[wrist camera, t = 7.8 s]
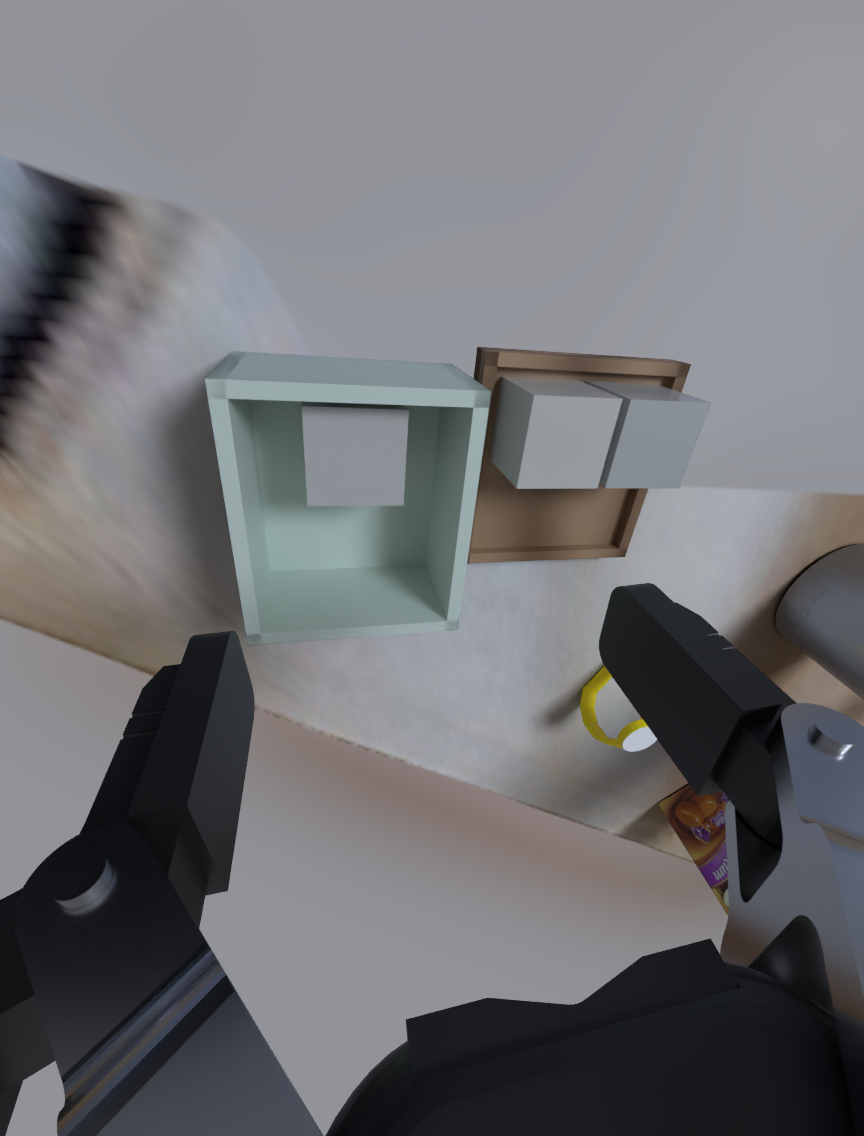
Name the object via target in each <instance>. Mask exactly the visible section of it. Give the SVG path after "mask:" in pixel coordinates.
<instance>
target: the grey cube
mask: <svg viewBox="0 0 864 1136" xmlns="http://www.w3.org/2000/svg"><path fill="white" fill-rule="evenodd" d="M408 419H409V409H408V408H407V406H406V405H388V404H360V403H333V402H305V401H302V423H303V440H304V457H305V474H306V491H307V506H404V488H405V471H406V453H407V436H408Z"/></svg>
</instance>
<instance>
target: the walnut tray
mask: <svg viewBox="0 0 864 1136" xmlns="http://www.w3.org/2000/svg"><path fill="white" fill-rule="evenodd" d="M690 365H691V364H687V363H683V362H679V361H675V360H667V359H652V358H636V357H622V356H607V355H606V356H605V355H592V354H577V353H561V352H546V351H531V350H515V349H501V348H486V347H477V355H476V363H475V372H474V380H476V381H477V382H479V383H480V384H482V385H483V386H484V387H486V388H487V389H489V390H490V391H491V398H490V405H489V412H488V419H487V426H486V433H485V440H484V447H483V454H482V461H481V468H480V475H479V483H478V490H477V497H476V504H475V511H474V518H473V525H472V532H471V539H470V546H469V553H468V560H467V563H480V562H505V561H531V560H557V559H582V558H608V557H625V555H626V552H627V549H628V546H629V543H630V540H631V537H632V534H633V531H634V528H635V525H636V523H637V520H638V517H639V514H640V511H641V508H642V505H643V502H644V499H645V496H646V494H647V491H648V488H604V487H602V486H601V485H600V484H598V488H593V489H516V487H515V486H514V485H513V484H512V483H511V482H510V481H509V480H508V479H507V478H506V477H505V475H504V474H503V473H502V472H501V471H500V470H499V469H498V468H497V467H496V466H495V465H494V463H493V462H492V461H491V460H490V459H489V456H490V450H491V443H492V436H493V430H494V423H495V416H496V410H497V403H498V396H499V390H500V383H501V376H505V377H524V378H543V379H562V380H579V381H581V382H584V383H585V382H586V381H600V382H619V383H639V384H657V385H660V386H663V387H666V388H669V389H672V390H675V391H678V392H682V389H683V386H684V383H685V380H686V377H687V374H688V371H689V369H690Z"/></svg>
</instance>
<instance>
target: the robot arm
mask: <svg viewBox="0 0 864 1136" xmlns="http://www.w3.org/2000/svg"><path fill="white" fill-rule="evenodd" d="M776 627H777V630H778V632H779V633H780V634H781V635H782V636H783V637H785V638H786V639H787V640H788V641H790V642H791V643H792V644H794V645H795V646H796V647H797V648H799V649H800V650H801V651H802V652H804V653H805V654H806V655H808V656H809V657H810V658H811V659H813V660H814V661H815V662H817V663H818V664H819V665H820V666H822V667H823V668H824V669H825V670H826V671H828V672H829V673H830V674H831V675H833V676H834V677H835V678H837V679H838V680H839V681H840V682H842V683H843V684H844V685H845V686H847V687H848V688H849V689H851V690H852V691H853V692H854V693H856V694H857V695H858V696H859V697H861V698H862V699H863V700H864V544H856V545H852V546H847V547H845V548H842V549H840V550H837V551H835V552H833V553H831V554H829V555H827V556H826V557H824V558H822V559H821V560H819V561H818V562H817V563H815V564H814V565H812V566H811V567H810V568H809V569H807V570H806V571H805V572H804V573H803V574H802V575H801V576H800V577H799V578H798V579H797V580H796V581H795V582H794V583H793V584H792V586H791V587H790V588H789V589H788V591H787V592H786V594H785V595H784V597H783V598H782V601H781V603H780V605H779V607H778V610H777V614H776ZM599 651H600V656H601V659H602V661H603V664H604V666H605V667H606V669H607V670H608V671H609V673H610V674H611V676H612V677H613V678H614V680H615V681H616V683H617V684H618V685H619V687H620V688H621V690H622V691H623V692H624V694H625V695H626V696H627V698H628V699H629V701H630V702H631V703H632V705H633V706H634V708H635V709H636V710H637V712H638V713H639V715H640V716H641V717H642V719H643V720H644V722H645V723H646V724H647V726H648V727H649V728H650V730H651V731H652V733H653V734H654V735H655V737H656V738H657V740H658V741H659V742H660V744H661V745H662V747H663V748H664V749H665V751H666V752H667V754H668V755H669V756H670V758H671V759H672V760H673V762H674V763H675V765H676V766H677V767H678V769H679V770H680V772H681V773H682V774H683V776H684V777H685V779H686V780H687V781H688V783H689V784H690V786H691V787H692V788H693V790H694V791H695V793H696V794H697V795H698V796H701V795H706V794H711V793H716V792H720V791H723V792H724V793H725V795H726V796H727V797H728V799H729V802H728V804H727V806H726V809H725V828H726V850H727V872H728V894H729V914H728V921H727V925H726V929H725V932H724V935H723V939H722V944H721V950H720V954H719V952H718V951H717V949H716V947H715V945H714V944H713V942H712V940H711V939H707V940H703V941H699V942H696V943H692V944H688V945H684V946H681V947H677V948H673V949H670V950H665V951H662V952H658V953H654V954H651V955H647V956H643V957H641V958H640V959H638V960H637V961H636V962H635V963H633V964H632V965H631V966H629V967H628V968H626V969H625V970H624V971H623V972H621V973H620V974H619V975H617V976H616V977H615V978H613V979H612V980H611V981H609V982H608V983H607V984H605V985H604V986H603V987H601V988H600V989H599V990H597V991H596V992H595V993H593V994H592V995H591V996H589V997H588V998H587V999H585V1000H584V1001H582V1002H580V1003H578V1004H574V1005H565V1004H553V1003H542V1002H529V1001H518V1000H506V999H495V998H485V999H482V1000H478V1001H474V1002H470V1003H467V1004H463V1005H459V1006H455V1007H451V1008H448V1009H444V1010H440V1011H436V1012H433V1013H429V1014H425V1015H421V1016H418V1017H414V1018H410V1019H407V1020H406V1027H407V1040H408V1041H407V1042H405V1043H404V1044H402V1045H401V1046H399V1047H398V1048H397V1049H396V1050H394V1051H392V1052H391V1053H390V1054H388V1055H387V1056H386V1057H385V1058H384V1059H383V1060H382V1061H381V1062H380V1063H379V1064H378V1065H377V1066H375V1067H374V1068H373V1069H372V1070H371V1071H370V1072H369V1074H368V1075H367V1076H366V1077H365V1078H364V1079H363V1081H362V1082H361V1083H360V1084H359V1085H358V1086H357V1088H356V1089H355V1090H354V1091H353V1093H352V1094H351V1096H350V1097H349V1098H348V1100H347V1101H346V1103H345V1104H344V1106H343V1107H342V1109H341V1110H340V1112H339V1113H338V1115H337V1116H336V1118H335V1120H334V1121H333V1123H332V1125H331V1127H330V1129H329V1131H328V1133H327V1134H326V1136H864V727H863V726H862V725H860V724H859V723H858V722H856V721H854V720H853V719H851V718H850V717H848V716H846V715H844V714H842V713H840V712H838V711H835V710H833V709H830V708H827V707H824V706H820V705H816V704H810V703H796V702H795V701H793V700H792V699H791V698H790V697H789V696H788V695H787V694H786V693H785V692H784V691H782V690H781V689H780V688H779V687H778V686H777V685H776V684H775V683H774V682H773V681H771V680H770V679H769V678H768V677H767V676H766V675H765V674H764V673H763V672H762V671H760V670H759V669H758V668H757V667H756V666H755V665H754V664H753V663H752V662H751V661H749V660H748V659H747V658H746V657H745V656H744V655H743V654H742V653H741V652H740V651H738V650H734V648H733V645H732V644H731V643H730V642H728V641H727V640H726V639H725V638H724V637H723V636H719V635H718V632H717V631H716V630H715V629H714V628H713V627H712V626H711V625H710V624H709V623H708V622H706V621H705V620H704V619H703V618H702V617H701V616H700V615H698V614H696V613H694V612H692V611H691V610H689V609H687V608H685V607H683V606H682V605H680V604H678V603H674V602H673V601H672V600H671V599H669V598H668V597H667V596H666V595H665V594H664V593H663V592H662V591H661V590H660V589H659V588H658V587H657V586H655V585H654V584H651V583H645V584H637V585H628V586H620V587H616V588H615V589H614V590H613V591H612V593H611V596H610V600H609V604H608V608H607V612H606V616H605V620H604V623H603V627H602V631H601V635H600V639H599ZM253 720H254V694H253V688H252V684H251V680H250V677H249V673H248V669H247V666H246V662H245V659H244V655H243V652H242V648H241V645H240V641H239V638H238V635H237V633H236V632H235V631H227V632H219V633H210V634H202V635H194V636H192V637H191V638H190V640H189V643H188V645H187V648H186V651H185V654H184V657H183V659H182V662H181V664H178V665H170V666H163V667H162V669H161V670H160V671H159V672H158V673H157V674H156V675H155V676H154V677H153V678H152V679H151V680H150V681H149V682H148V683H147V684H146V686H145V687H144V688H143V689H142V691H141V694H140V696H139V698H138V700H137V703H136V705H135V707H134V710H133V712H132V718H130V719H129V721H128V724H127V726H126V728H125V731H124V733H123V736H124V738H123V739H122V740H120V743H119V745H118V747H117V750H116V752H115V754H114V757H113V759H112V761H111V764H110V766H109V768H108V771H107V773H106V775H105V778H104V780H103V782H102V785H101V787H100V789H99V792H98V794H97V796H96V799H95V801H94V803H93V806H92V808H91V810H90V813H89V815H88V817H87V820H86V822H85V824H84V826H83V828H82V830H81V832H80V834H79V835H77V836H75V837H74V838H72V839H70V840H69V841H67V842H66V843H64V844H63V845H61V846H60V847H59V848H58V849H56V850H55V851H54V852H53V853H51V854H50V855H49V856H48V857H47V858H46V859H45V860H44V861H43V862H42V863H41V864H40V865H39V866H38V867H37V869H36V870H35V871H34V872H33V873H32V875H31V876H30V878H29V879H28V880H27V882H26V884H25V885H24V887H23V888H22V889H20V890H19V891H17V892H15V893H13V894H11V895H9V896H7V897H5V898H3V899H1V900H0V1136H5V1134H6V1131H7V1128H8V1125H9V1122H10V1119H11V1116H12V1113H13V1110H14V1107H15V1104H16V1101H17V1097H18V1094H19V1091H20V1088H21V1085H22V1082H23V1080H24V1079H26V1078H28V1077H29V1076H31V1075H33V1074H34V1073H36V1072H38V1071H39V1070H41V1069H42V1068H44V1067H46V1066H47V1065H49V1064H51V1063H52V1062H54V1061H56V1064H57V1067H58V1070H59V1073H60V1076H61V1079H62V1083H63V1087H64V1092H65V1105H64V1107H63V1109H62V1110H61V1111H60V1112H59V1115H58V1120H57V1135H58V1136H323V1135H322V1133H321V1131H320V1129H319V1128H318V1126H317V1125H316V1123H315V1121H314V1120H313V1118H312V1116H311V1115H310V1113H309V1111H308V1110H307V1108H306V1106H305V1104H304V1103H303V1101H302V1099H301V1098H300V1096H299V1094H298V1093H297V1091H296V1090H295V1088H294V1086H293V1085H292V1083H291V1081H290V1079H289V1078H288V1076H287V1074H286V1073H285V1071H284V1069H283V1068H282V1066H281V1065H280V1063H279V1061H278V1060H277V1058H276V1056H275V1055H274V1053H273V1051H272V1050H271V1048H270V1046H269V1045H268V1043H267V1041H266V1040H265V1038H264V1036H263V1035H262V1033H261V1031H260V1030H259V1028H258V1026H257V1025H256V1023H255V1021H254V1020H253V1018H252V1016H251V1015H250V1013H249V1011H248V1010H247V1008H246V1006H245V1005H244V1003H243V1001H242V1000H241V998H240V996H239V995H238V993H237V991H236V990H235V988H234V986H233V985H232V983H231V981H230V980H229V978H228V976H227V975H226V973H225V971H224V970H223V968H222V967H221V965H220V963H219V961H218V960H217V958H216V956H215V955H214V953H213V951H212V950H211V948H210V946H209V945H208V943H207V941H206V940H205V938H204V936H203V935H202V933H201V931H200V930H199V926H200V921H201V916H202V910H203V905H204V899H205V895H210V894H215V893H219V892H225V891H228V886H229V879H230V872H231V866H232V859H233V852H234V846H235V839H236V833H237V826H238V819H239V812H240V806H241V799H242V792H243V786H244V780H245V772H246V766H247V760H248V752H249V746H250V740H251V733H252V726H253Z"/></svg>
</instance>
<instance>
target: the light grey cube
mask: <svg viewBox="0 0 864 1136" xmlns="http://www.w3.org/2000/svg"><path fill="white" fill-rule="evenodd" d="M622 400H623V399H622V398H619V397H617V396H614V395H612V394H610V393H607V392H605V391H603V390H600V389H598V388H595V387H593V386H591V385H588V384H586V383H584V382H581V381H579V380H562V379H543V378H524V377H505V376H501V383H500V390H499V396H498V403H497V410H496V416H495V423H494V430H493V436H492V443H491V450H490V456H489V459H490V460H491V461H492V462H493V463H494V465H495V466H496V467H497V468H498V469H499V470H500V471H501V472H502V473H503V474H504V475H505V477H506V478H507V479H508V480H509V481H510V482H511V483H512V484H513V485H514V486H515V487H516V489H593V488H598V484H599V481H600V477H601V474H602V470H603V467H604V463H605V460H606V456H607V453H608V449H609V446H610V442H611V439H612V435H613V432H614V428H615V425H616V421H617V417H618V414H619V410H620V407H621V403H622Z"/></svg>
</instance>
